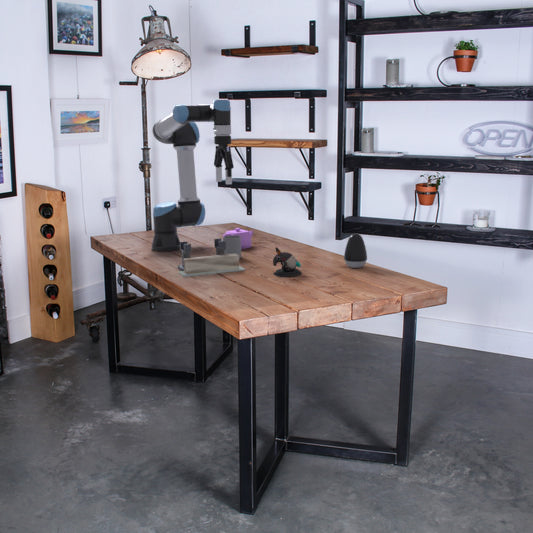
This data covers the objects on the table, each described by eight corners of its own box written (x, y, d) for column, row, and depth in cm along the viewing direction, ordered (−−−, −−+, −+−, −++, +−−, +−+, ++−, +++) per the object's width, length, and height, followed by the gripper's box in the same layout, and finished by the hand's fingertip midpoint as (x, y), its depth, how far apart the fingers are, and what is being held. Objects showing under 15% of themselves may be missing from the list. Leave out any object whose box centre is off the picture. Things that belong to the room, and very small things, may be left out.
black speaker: (368, 265, 289) (369, 231, 286) (364, 270, 280) (365, 236, 276) (346, 263, 293) (347, 230, 289) (341, 268, 283) (342, 234, 280)
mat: (178, 272, 279) (178, 271, 279) (238, 266, 289) (238, 265, 289) (183, 276, 272) (183, 275, 272) (245, 270, 282) (245, 269, 282)
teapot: (248, 243, 341) (247, 224, 339) (258, 247, 333) (258, 227, 330) (218, 248, 331) (218, 228, 329) (229, 251, 323) (228, 231, 320)
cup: (238, 259, 304) (238, 238, 302) (221, 258, 306) (221, 238, 303) (242, 255, 312) (242, 235, 310) (226, 255, 314) (225, 235, 312)
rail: (184, 272, 278) (183, 258, 277) (236, 266, 287) (235, 253, 285) (186, 274, 274) (186, 260, 273) (239, 268, 283) (238, 255, 282)
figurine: (303, 276, 270) (302, 249, 268) (275, 278, 269) (274, 251, 266) (298, 270, 281) (297, 244, 279) (271, 272, 280) (270, 246, 277)
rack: (177, 268, 288) (176, 241, 285) (224, 263, 296) (223, 237, 293) (182, 271, 281) (181, 245, 278) (229, 266, 289) (229, 240, 286)
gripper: (206, 134, 296) (207, 180, 301) (223, 136, 274) (225, 185, 278) (221, 134, 299) (222, 180, 304) (240, 135, 276) (241, 185, 281)
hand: (223, 183), depth 291 cm, fingers open, 13 cm apart
